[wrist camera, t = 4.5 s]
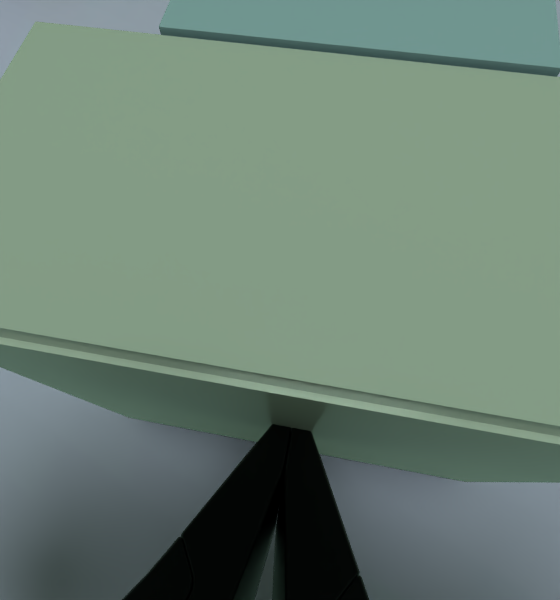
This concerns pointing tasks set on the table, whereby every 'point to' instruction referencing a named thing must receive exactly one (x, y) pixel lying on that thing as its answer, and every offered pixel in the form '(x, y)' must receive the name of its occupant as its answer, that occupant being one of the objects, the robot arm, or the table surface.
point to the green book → (287, 245)
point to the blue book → (385, 29)
